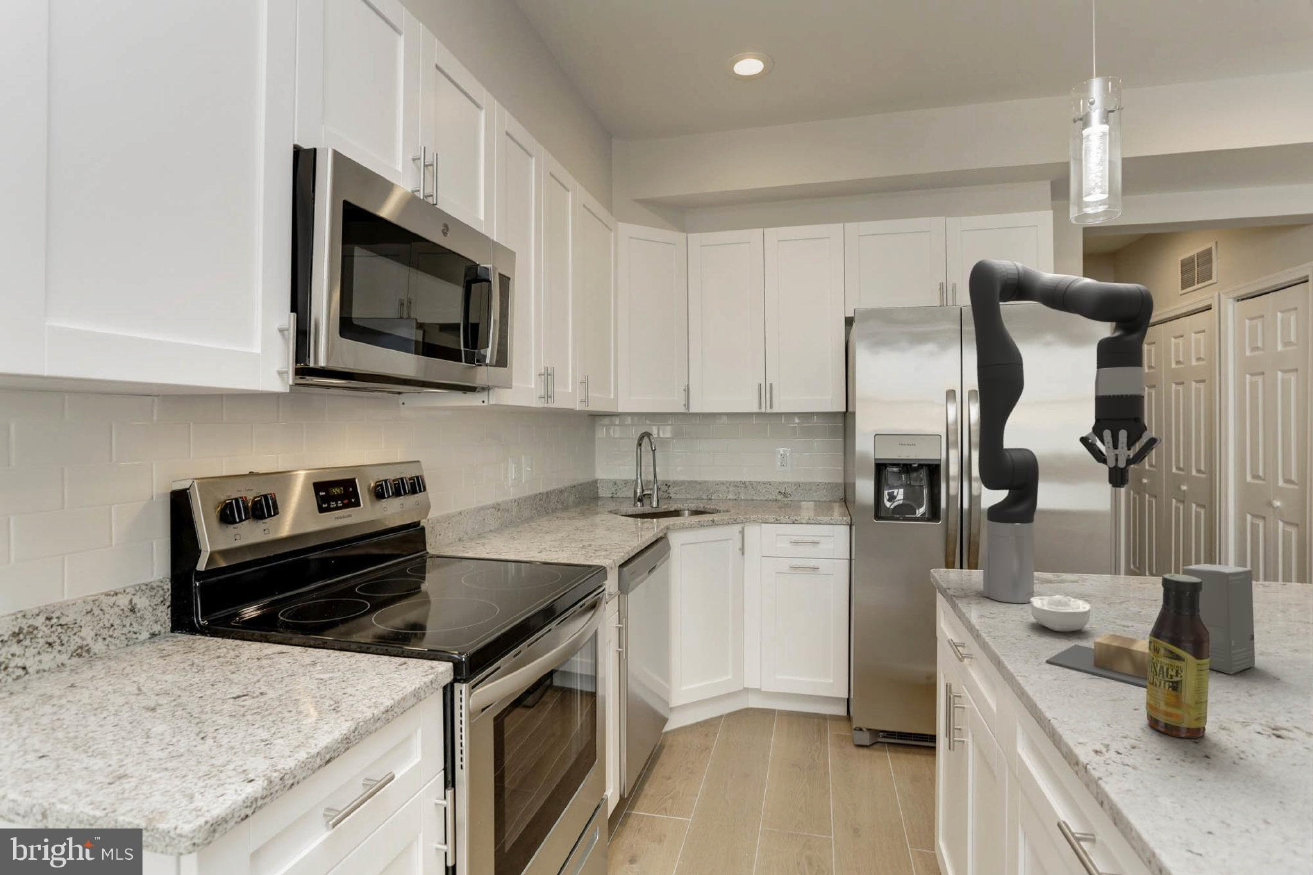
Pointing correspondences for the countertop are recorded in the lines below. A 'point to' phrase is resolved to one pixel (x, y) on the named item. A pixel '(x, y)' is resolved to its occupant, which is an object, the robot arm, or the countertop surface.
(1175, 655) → the sauce bottle
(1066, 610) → the cell model
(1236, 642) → the skincare box
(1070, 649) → the mat
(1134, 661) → the block
